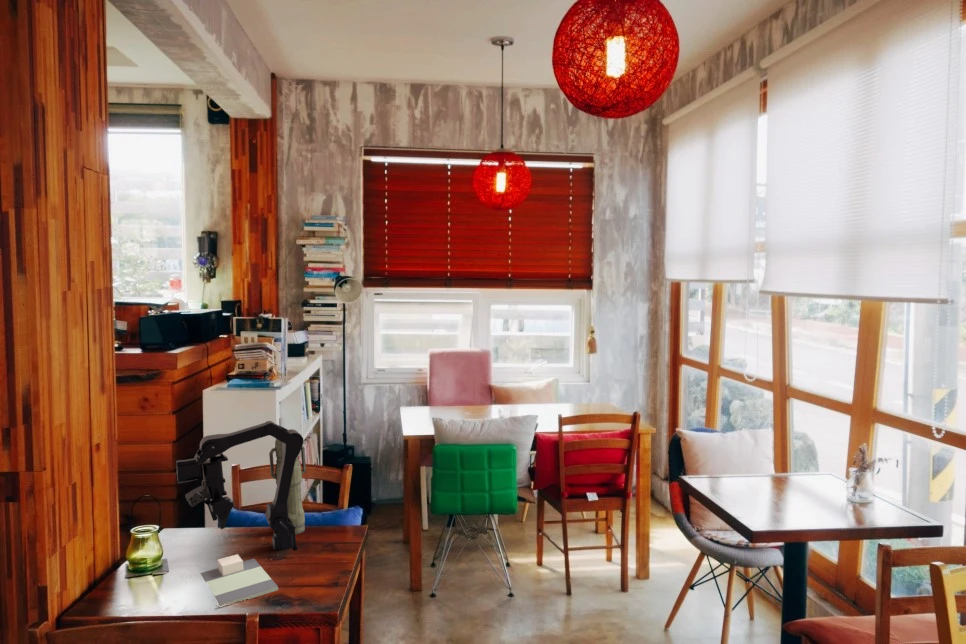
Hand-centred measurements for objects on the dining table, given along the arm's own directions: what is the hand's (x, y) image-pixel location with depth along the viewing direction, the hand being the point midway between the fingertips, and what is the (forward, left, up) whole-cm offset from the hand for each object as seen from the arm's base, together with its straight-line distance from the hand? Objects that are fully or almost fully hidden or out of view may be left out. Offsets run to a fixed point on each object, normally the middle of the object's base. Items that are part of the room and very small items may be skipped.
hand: (218, 524), depth 213 cm
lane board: (-1, +18, -13) cm, 22 cm away
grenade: (-27, -11, -13) cm, 32 cm away
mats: (-1, +18, -13) cm, 22 cm away
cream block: (-1, +9, -12) cm, 15 cm away
